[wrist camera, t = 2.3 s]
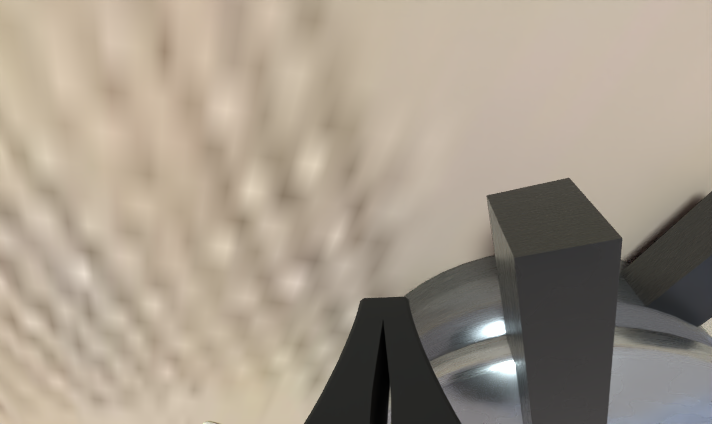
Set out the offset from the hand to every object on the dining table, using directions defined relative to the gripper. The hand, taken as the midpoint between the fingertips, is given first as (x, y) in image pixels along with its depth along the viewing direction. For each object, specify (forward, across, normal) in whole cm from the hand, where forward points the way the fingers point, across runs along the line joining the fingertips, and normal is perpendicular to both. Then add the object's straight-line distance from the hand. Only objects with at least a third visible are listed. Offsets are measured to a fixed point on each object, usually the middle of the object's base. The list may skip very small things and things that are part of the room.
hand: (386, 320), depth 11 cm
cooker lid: (+1, -6, +7) cm, 9 cm away
